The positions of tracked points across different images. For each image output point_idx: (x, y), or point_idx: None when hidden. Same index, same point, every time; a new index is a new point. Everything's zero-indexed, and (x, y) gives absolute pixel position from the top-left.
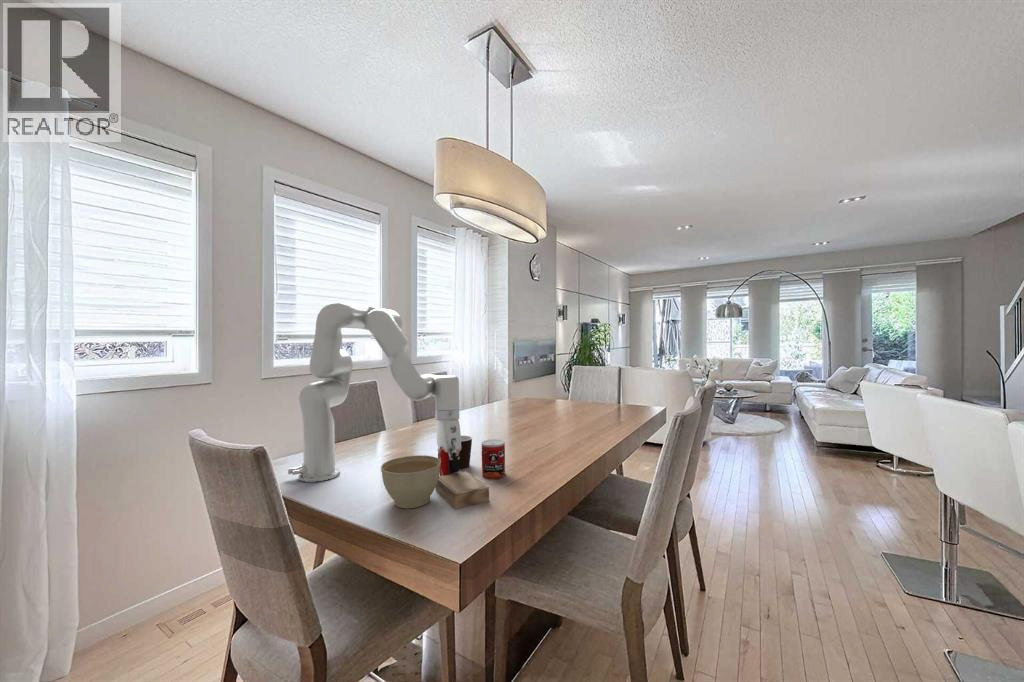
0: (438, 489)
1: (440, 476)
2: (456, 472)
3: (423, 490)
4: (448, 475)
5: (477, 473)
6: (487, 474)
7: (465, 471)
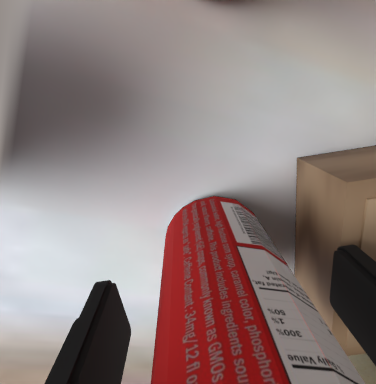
0: None
1: (337, 338)
2: (256, 228)
3: None
4: None
5: (123, 21)
6: None
7: (347, 189)
